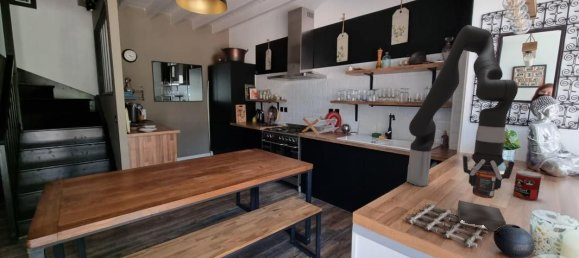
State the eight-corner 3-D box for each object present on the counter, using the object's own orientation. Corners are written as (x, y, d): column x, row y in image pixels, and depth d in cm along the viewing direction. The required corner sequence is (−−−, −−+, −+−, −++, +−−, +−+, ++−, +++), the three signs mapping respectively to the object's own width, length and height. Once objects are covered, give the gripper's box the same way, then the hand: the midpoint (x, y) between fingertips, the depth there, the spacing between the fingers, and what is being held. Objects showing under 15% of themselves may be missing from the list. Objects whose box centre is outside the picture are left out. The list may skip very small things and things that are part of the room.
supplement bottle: (497, 199, 82) (502, 167, 80) (477, 198, 83) (481, 165, 82) (487, 193, 88) (491, 162, 86) (468, 191, 89) (472, 161, 87)
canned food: (508, 193, 112) (511, 170, 111) (524, 193, 113) (527, 170, 111) (525, 201, 105) (529, 176, 103) (542, 200, 105) (546, 176, 104)
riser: (458, 223, 85) (460, 212, 84) (457, 210, 95) (458, 200, 94) (504, 234, 78) (505, 222, 78) (497, 218, 88) (499, 208, 88)
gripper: (515, 140, 82) (508, 188, 84) (463, 136, 90) (458, 180, 92) (521, 143, 76) (513, 195, 78) (464, 138, 83) (459, 186, 86)
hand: (483, 187), depth 85 cm, fingers closed on supplement bottle, 6 cm apart
